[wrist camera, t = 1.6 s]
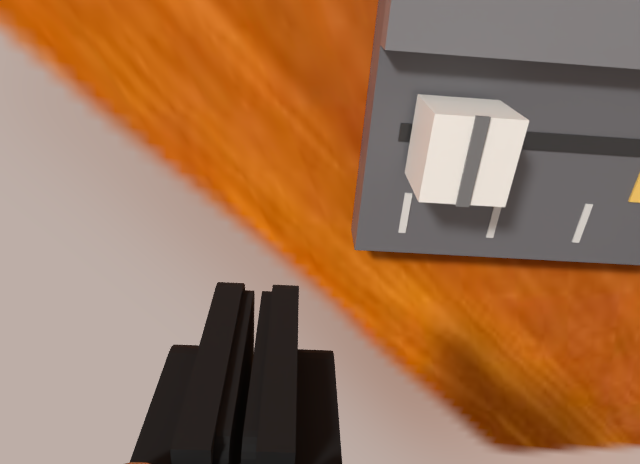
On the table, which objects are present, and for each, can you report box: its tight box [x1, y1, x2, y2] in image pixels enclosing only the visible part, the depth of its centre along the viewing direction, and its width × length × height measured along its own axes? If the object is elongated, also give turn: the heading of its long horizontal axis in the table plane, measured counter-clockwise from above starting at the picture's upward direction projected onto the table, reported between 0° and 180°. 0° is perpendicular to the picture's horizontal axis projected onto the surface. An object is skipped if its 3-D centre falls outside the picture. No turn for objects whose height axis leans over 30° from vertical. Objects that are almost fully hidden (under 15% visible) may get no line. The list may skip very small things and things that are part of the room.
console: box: [351, 0, 640, 265], centre depth 26 cm, size 20×14×4 cm
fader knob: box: [405, 94, 530, 207], centre depth 23 cm, size 4×4×4 cm
